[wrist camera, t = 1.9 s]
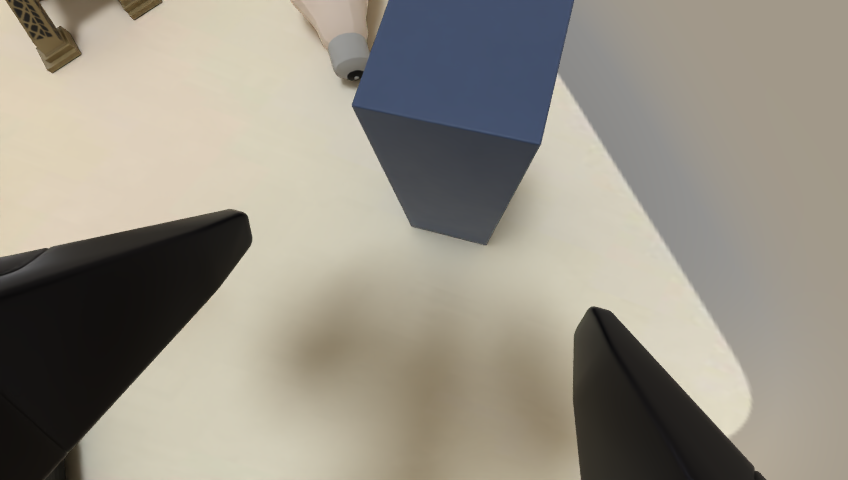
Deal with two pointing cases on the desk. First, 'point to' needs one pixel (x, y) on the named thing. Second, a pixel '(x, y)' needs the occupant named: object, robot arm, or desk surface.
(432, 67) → the blue block
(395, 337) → the desk surface
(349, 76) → the light bulb
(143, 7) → the eiffel tower
